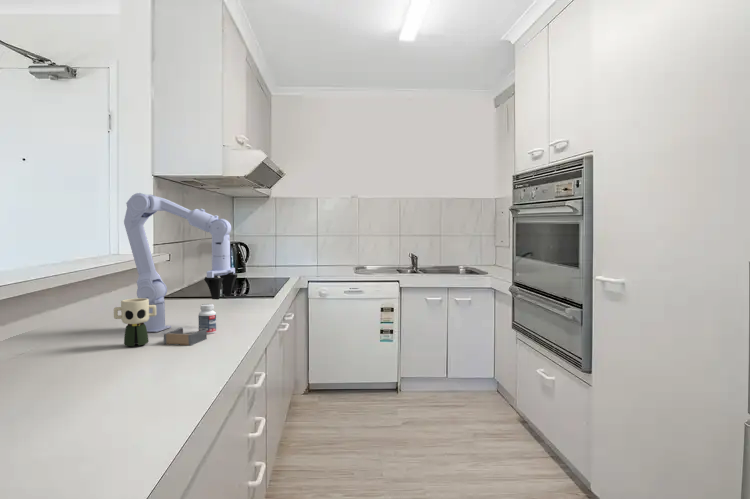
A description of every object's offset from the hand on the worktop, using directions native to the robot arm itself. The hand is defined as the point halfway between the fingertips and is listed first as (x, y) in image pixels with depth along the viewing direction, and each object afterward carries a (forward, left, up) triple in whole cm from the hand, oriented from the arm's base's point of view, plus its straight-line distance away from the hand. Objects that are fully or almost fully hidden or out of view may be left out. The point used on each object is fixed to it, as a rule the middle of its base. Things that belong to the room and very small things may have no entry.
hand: (221, 297), depth 163 cm
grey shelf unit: (-2, -18, -10) cm, 21 cm away
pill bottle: (-2, -6, -11) cm, 12 cm away
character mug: (-13, -25, -10) cm, 30 cm away
